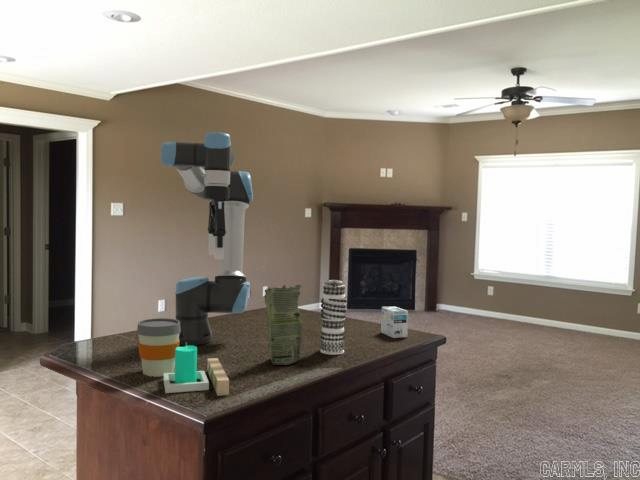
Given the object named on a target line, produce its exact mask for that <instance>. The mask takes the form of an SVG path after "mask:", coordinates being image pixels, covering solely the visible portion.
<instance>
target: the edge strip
mask: <svg viewBox="0 0 640 480" xmlns="http://www.w3.org/2000/svg"><path fill="white" fill-rule="evenodd" d="M206 366H207V371H206V372H207V374H208V377H209V379H210V381H211V383H212V386H213V388H214V391H215V393H216V395H217V397H219V396H229V395H230V379H229V377H228V375H227V373H226V371H225V369H224V368H223V365H222V364H221V362H220V360H219V358H218V357H215V358H214V357H213V358H212V357H211V358H207V365H206Z"/></svg>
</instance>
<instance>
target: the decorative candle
mask: <svg viewBox="0 0 640 480" xmlns="http://www.w3.org/2000/svg"><path fill="white" fill-rule="evenodd" d="M322 286H323V291H322V292H323V293H322V298H321V299H320V307H321V308H322V309H321V310H320V313H321V314H320V318H321V319H322V326H321V331H320V334H321V335H320V341H319V343H320V344H319V345H320V346H319V348H320V353H322V354H324V355H330V356H331V355H332V356H334V355H335V356H336V355H342V354H343V355H344V353H345V350H344V349H345V348H346V347H345V344H346V342H345V339H346V337H345V334H346V332H345V326H344V325H345V320H346V315H345V313H347V310H346V308H347V305H345V304H346V303H347V302H348V300H347V296H346V292H345V291H346V288H345V287H346V284H344V282H343V280H338V279H328V280H325V282H324V283H323V284H322Z"/></svg>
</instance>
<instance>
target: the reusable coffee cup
mask: <svg viewBox="0 0 640 480" xmlns="http://www.w3.org/2000/svg"><path fill="white" fill-rule="evenodd" d="M180 332H181V327H180V321H179V320H176V318H175V319H174V318H162V317H159V318H157V317H156V318H149V319H148V318H147V319H143V320H140V321H138V324H137V328H136V334H137V335H138V341H137V347H138V354H139V356H138V357H139V358H140V360H141V368H142V373H143V374H142V375H144V374H145V375H144V376H146V375H147V377H152V376H153V377H156V378H159V377H164V373H175V349H176V348H177V347H180V345H179V343H180V340H179V333H180Z"/></svg>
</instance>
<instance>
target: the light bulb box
mask: <svg viewBox="0 0 640 480" xmlns="http://www.w3.org/2000/svg"><path fill="white" fill-rule="evenodd" d="M380 321H381V322H380V323H381V326H380V327H381V328H380V333H382V334H384V335H386V336H387V337H389V338H393V339H398V338H408V334H409V333H408V327H409V324H408V323H409V310H407V309H403V308H400V307H398V306H395V305H394V306H381V320H380Z"/></svg>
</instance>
